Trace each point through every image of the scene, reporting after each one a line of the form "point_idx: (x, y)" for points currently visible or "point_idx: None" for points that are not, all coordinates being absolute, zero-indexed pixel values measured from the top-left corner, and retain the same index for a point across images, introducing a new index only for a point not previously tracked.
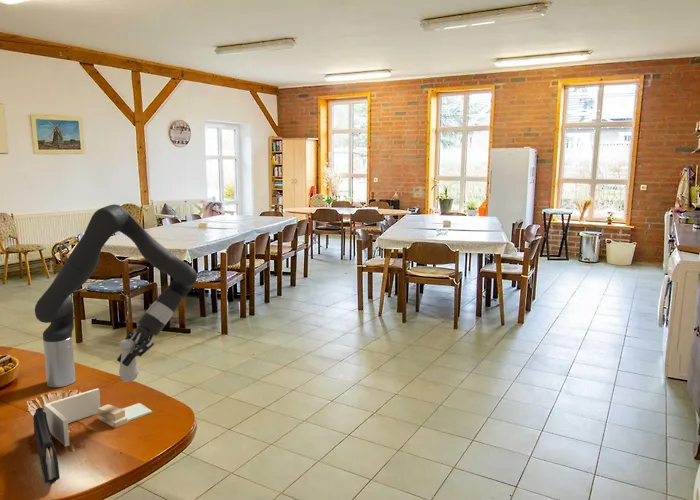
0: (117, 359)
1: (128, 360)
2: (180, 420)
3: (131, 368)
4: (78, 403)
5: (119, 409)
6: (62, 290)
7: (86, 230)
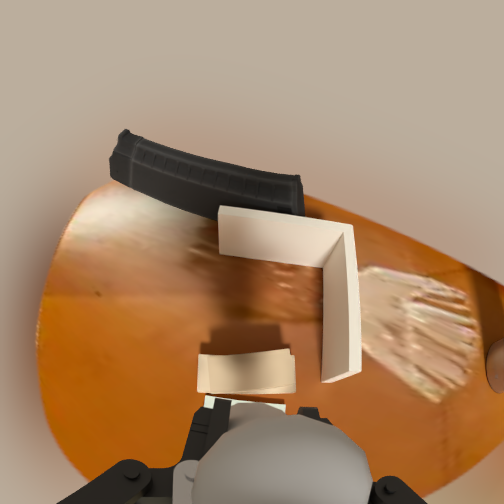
0: (308, 407)
1: (192, 429)
2: (95, 464)
3: None
4: (338, 310)
5: (226, 385)
6: None
7: None
